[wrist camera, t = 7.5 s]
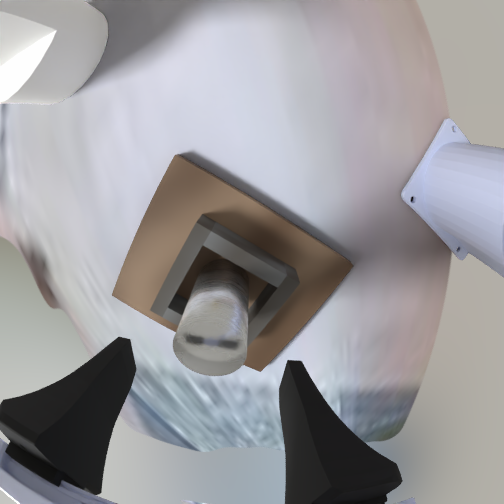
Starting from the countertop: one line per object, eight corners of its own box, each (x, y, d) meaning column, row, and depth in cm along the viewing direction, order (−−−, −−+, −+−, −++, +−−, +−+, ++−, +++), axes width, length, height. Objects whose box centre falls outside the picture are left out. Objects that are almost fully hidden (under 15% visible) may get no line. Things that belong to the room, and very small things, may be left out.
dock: (349, 261, 19) (363, 278, 16) (260, 365, 23) (260, 388, 20) (178, 154, 16) (165, 156, 14) (115, 290, 20) (100, 308, 18)
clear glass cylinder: (251, 261, 18) (249, 325, 12) (247, 306, 20) (244, 378, 13) (197, 257, 18) (169, 317, 12) (198, 302, 19) (176, 371, 13)
